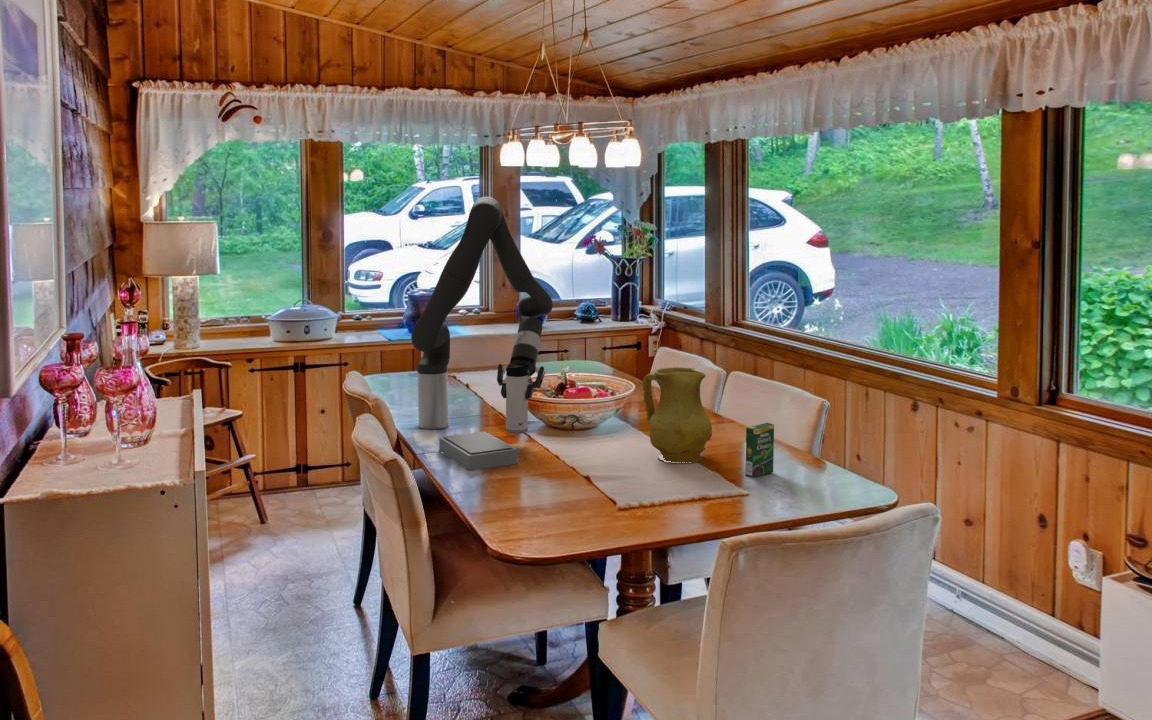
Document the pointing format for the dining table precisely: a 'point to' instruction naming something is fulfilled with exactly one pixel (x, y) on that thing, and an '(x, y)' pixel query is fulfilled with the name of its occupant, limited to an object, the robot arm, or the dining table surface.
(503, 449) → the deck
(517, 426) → the travel mug
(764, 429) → the coffee box
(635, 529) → the dining table surface
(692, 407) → the pitcher
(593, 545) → the dining table surface
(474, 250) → the robot arm
